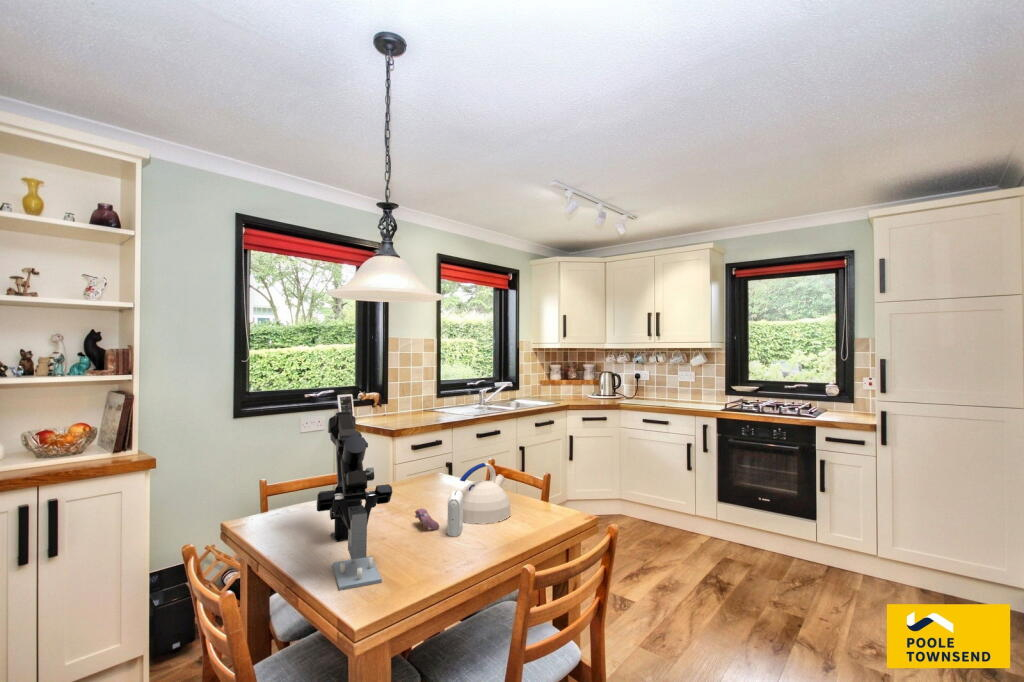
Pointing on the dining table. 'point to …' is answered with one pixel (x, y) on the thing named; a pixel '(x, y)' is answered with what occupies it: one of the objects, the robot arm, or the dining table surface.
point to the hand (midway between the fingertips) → (357, 527)
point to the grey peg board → (356, 573)
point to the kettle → (484, 498)
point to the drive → (357, 532)
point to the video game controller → (426, 519)
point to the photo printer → (455, 513)
